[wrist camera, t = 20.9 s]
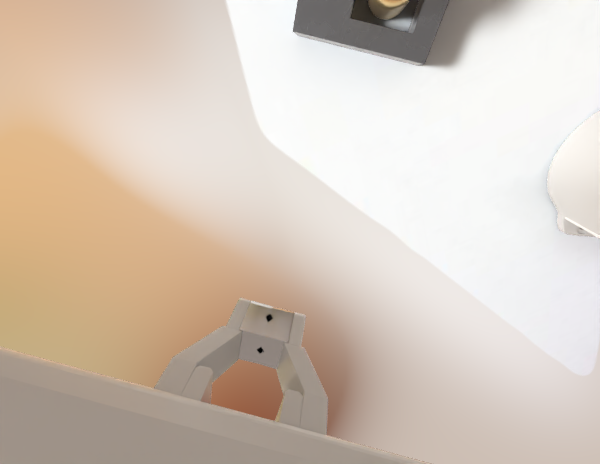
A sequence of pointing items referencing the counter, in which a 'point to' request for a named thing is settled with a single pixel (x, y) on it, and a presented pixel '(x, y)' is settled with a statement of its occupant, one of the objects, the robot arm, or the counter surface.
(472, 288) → the counter surface
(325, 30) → the jig plate
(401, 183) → the counter surface
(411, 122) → the counter surface
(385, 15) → the gold round-topped cylinder
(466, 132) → the counter surface
